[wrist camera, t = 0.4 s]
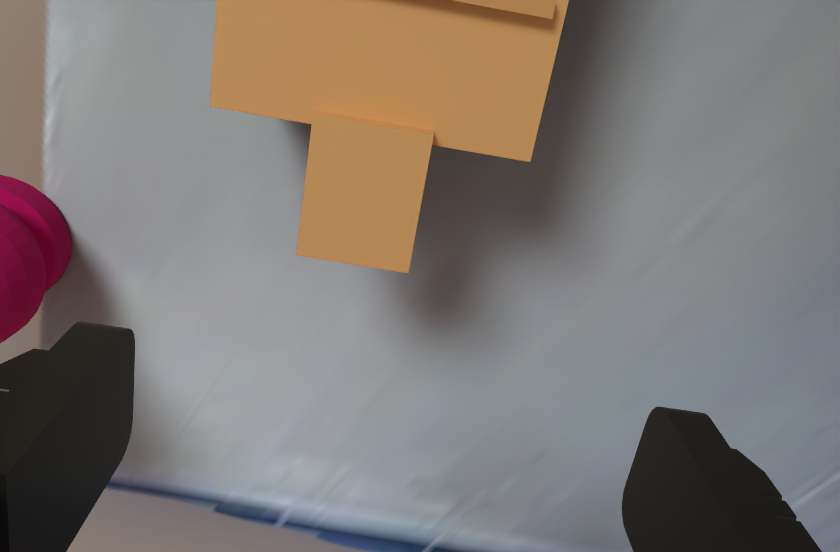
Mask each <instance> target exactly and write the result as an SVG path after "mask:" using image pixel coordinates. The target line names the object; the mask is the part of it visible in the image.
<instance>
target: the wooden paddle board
mask: <svg viewBox="0 0 840 552" xmlns="http://www.w3.org/2000/svg"><path fill="white" fill-rule="evenodd" d="M568 2H569V0H217V5H216V20H215V36H214V52H213V68H212V83H211V99H210V107H215V108H221V109H227V110H232V111H238V112H244V113H250V114H255V115H261V116H267V117H273V118H279V119H284V120H290V121H296V122H302V123H307V124H312V126H311V134H310V143H309V151H308V160H307V168H306V176H305V185H304V193H303V202H302V210H301V219H300V227H299V236H298V244H297V252H296V255H297V256H303V257H309V258H316V259H322V260H328V261H334V262H341V263H347V264H353V265H359V266H366V267H372V268H378V269H384V270H391V271H397V272H403V273H408V272H409V267H410V262H411V256H412V251H413V245H414V240H415V234H416V229H417V224H418V218H419V213H420V207H421V202H422V196H423V191H424V186H425V180H426V175H427V169H428V164H429V158H430V153H431V148H432V145H434V146H440V147H446V148H452V149H458V150H463V151H469V152H475V153H481V154H486V155H492V156H498V157H504V158H510V159H515V160H521V161H527V162H530V161H531V157H532V153H533V148H534V144H535V140H536V136H537V132H538V128H539V123H540V119H541V115H542V111H543V107H544V103H545V98H546V94H547V90H548V86H549V82H550V77H551V73H552V69H553V65H554V61H555V57H556V52H557V48H558V44H559V40H560V36H561V32H562V27H563V23H564V19H565V15H566V11H567V6H568Z"/></svg>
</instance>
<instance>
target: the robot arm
mask: <svg viewBox="0 0 840 552" xmlns="http://www.w3.org/2000/svg"><path fill="white" fill-rule="evenodd" d="M134 363H135V338H134V334H133V331H132V330H131V329H128V328H121V327H114V326H107V325H100V324H93V323H86V322H77V323H76V324H75V325H73V326H72V327H71V328H70V329H69V330H68V331H67V332H66V334H65V335H64V336H63V337H62V338H61V339H60V340H59V341H58V342H57V343H56V344H55V345H54V346H53V347H52V348H51V349H50V350H49V351H47V350H40V349H32V350H30V351H28V352H26V353H24V354H21V355H19V356H17V357H15V358H13V359H10V360H8V361H6V362H4V363H2V364H0V552H66V551H67V549H68V548H69V546H70V544H71V543H72V541H73V540H74V538H75V536H76V535H77V533H78V531H79V529H80V528H81V526H82V525H83V523H84V521H85V520H86V518H87V516H88V515H89V513H90V512H91V510H92V508H93V507H94V505H95V503H96V502H97V500H98V498H99V497H100V495H101V493H102V492H103V490H104V488H105V487H106V485H107V484H108V482H109V480H110V479H111V477H112V475H113V474H114V472H115V470H116V469H117V467H118V465H119V464H120V462H121V460H122V458H123V456H124V454H125V451H126V449H127V445H128V442H129V438H130V434H131V429H132V421H133V395H134ZM622 517H623V523H624V528H625V531H626V533H627V536H628V538H629V541H630V543H631V546H632V549H633V551H634V552H822V551H821V550H820V548H819V547H818V546H817V544H816V543H815V542H814V540H813V539H812V537H811V536H810V535H809V533H808V532H807V530H806V529H805V528H804V526H803V525H802V523H801V522H799V521H796V515H795V514H794V512H793V511H792V510H791V508H790V507H789V505H788V504H787V503H786V501H782V496H781V494H780V493H779V492H778V490H777V489H776V487H775V486H774V485H773V483H772V482H771V480H770V479H769V478H768V476H767V475H766V473H765V472H764V471H763V470H761V469H760V468H759V467H758V466H756V465H755V464H754V463H753V462H751V461H750V460H749V459H748V458H747V457H745V456H744V455H743V454H742V453H740V452H739V451H738V450H737V449H731V448H730V446H729V445H728V443H727V442H726V441H725V439H724V438H723V436H722V435H721V433H720V432H719V430H718V429H717V427H716V426H715V424H714V423H713V422H712V420H711V419H710V417H709V416H708V415H706V414H704V413H699V412H692V411H686V410H679V409H672V408H665V407H656V408H654V409H653V410H652V411H651V413H650V414H649V416H648V419H647V421H646V424H645V427H644V430H643V433H642V436H641V439H640V442H639V445H638V448H637V451H636V454H635V458H634V461H633V464H632V467H631V470H630V473H629V476H628V479H627V482H626V485H625V488H624V493H623V500H622Z"/></svg>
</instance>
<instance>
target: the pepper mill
mask: <svg viewBox="0 0 840 552" xmlns="http://www.w3.org/2000/svg"><path fill="white" fill-rule="evenodd" d="M70 255H71V241H70V236H69V232H68V228H67V225H66V223H65V221H64V220H63V218H62V216H61V214H60V212H59V211H58V210H57V208H56V207H55V206H54V204H53V203H52V202H51V201H50V200H49V199H48V198H47V197H46V196H45V195H43V194H42V193H41V192H40V191H38V190H37V189H36V188H34V187H33V186H31V185H29V184H27V183H24V182H22V181H20V180H17V179H15V178H11V177H7V176H2V175H0V343H1V342H3V341H5V340H6V339H7V338H9V337H10V336H12V335H13V334H15V333H16V332H17V331H19V330H20V329H21V328H22V327H24V326H25V325H26V324H27V323H28V322H29V321H30V319H31V318H32V317H33V316H34V314H35V313H36V312H37V311H38V308H39V306H40V304H41V302H42V300H43V296H44V293H45V292H46V291H47V290H48V289H49V288H50V287H52V286H53V285H54V284H55V283H56V282H57V281H58V280H59V279H60V278H61V276H62V275H63V273H64V272H65V270H66V268H67V265H68V263H69V260H70Z"/></svg>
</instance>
